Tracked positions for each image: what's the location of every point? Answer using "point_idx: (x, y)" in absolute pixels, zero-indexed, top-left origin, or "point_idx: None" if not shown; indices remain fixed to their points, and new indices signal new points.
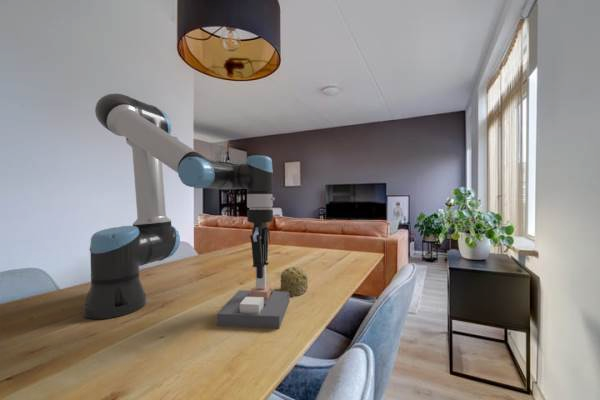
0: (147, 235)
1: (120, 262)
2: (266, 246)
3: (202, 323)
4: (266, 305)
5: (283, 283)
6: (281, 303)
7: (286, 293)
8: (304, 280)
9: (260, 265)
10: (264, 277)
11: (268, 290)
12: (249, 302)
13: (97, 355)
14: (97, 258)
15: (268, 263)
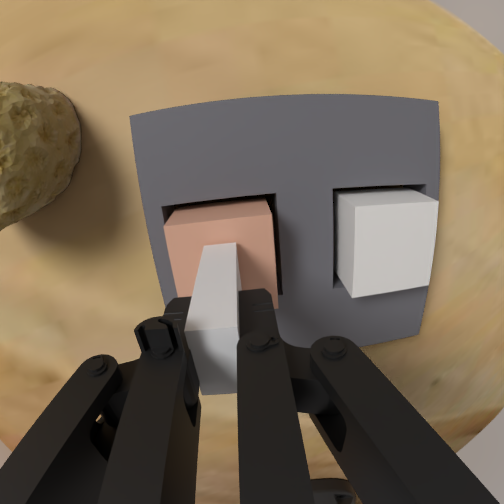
0: None
1: None
2: (41, 489)
3: (386, 353)
4: (347, 180)
5: (38, 192)
6: (311, 110)
7: (158, 122)
8: (2, 85)
9: (352, 351)
10: (236, 276)
11: (231, 216)
12: (417, 252)
13: (465, 410)
14: None
15: (141, 323)
